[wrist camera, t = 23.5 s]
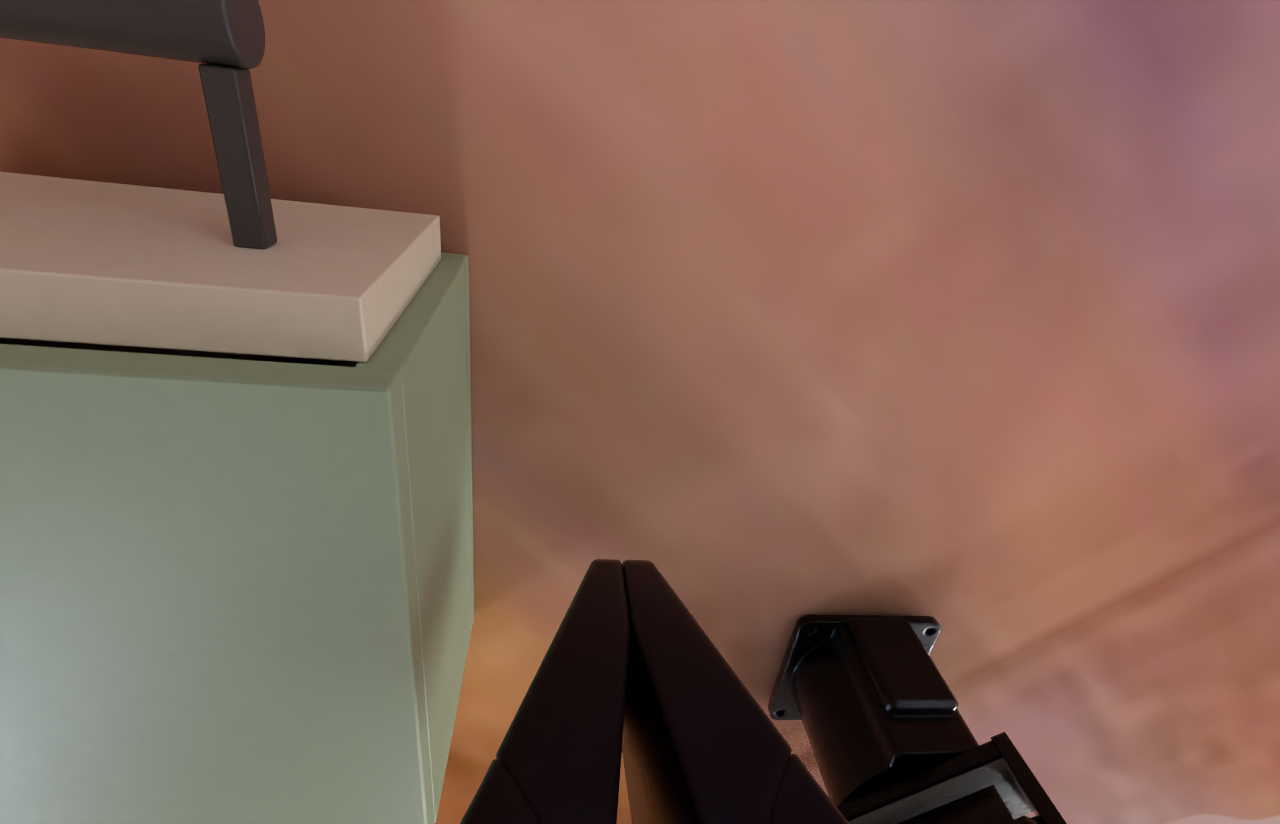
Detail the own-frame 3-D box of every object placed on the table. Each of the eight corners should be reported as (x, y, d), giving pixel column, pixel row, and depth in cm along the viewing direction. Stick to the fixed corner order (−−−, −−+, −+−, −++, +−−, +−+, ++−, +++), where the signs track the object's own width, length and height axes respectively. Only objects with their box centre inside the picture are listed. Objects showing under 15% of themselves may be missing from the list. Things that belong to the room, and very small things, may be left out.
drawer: (-147, -69, 12) (-806, -199, 6) (432, 13, 14) (326, -30, 8) (112, 583, 21) (-71, 784, 15) (453, 590, 22) (410, 774, 17)
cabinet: (-30, 207, 16) (-573, 329, 8) (469, 253, 18) (388, 388, 10) (128, 611, 23) (-92, 875, 15) (474, 615, 24) (430, 855, 17)
